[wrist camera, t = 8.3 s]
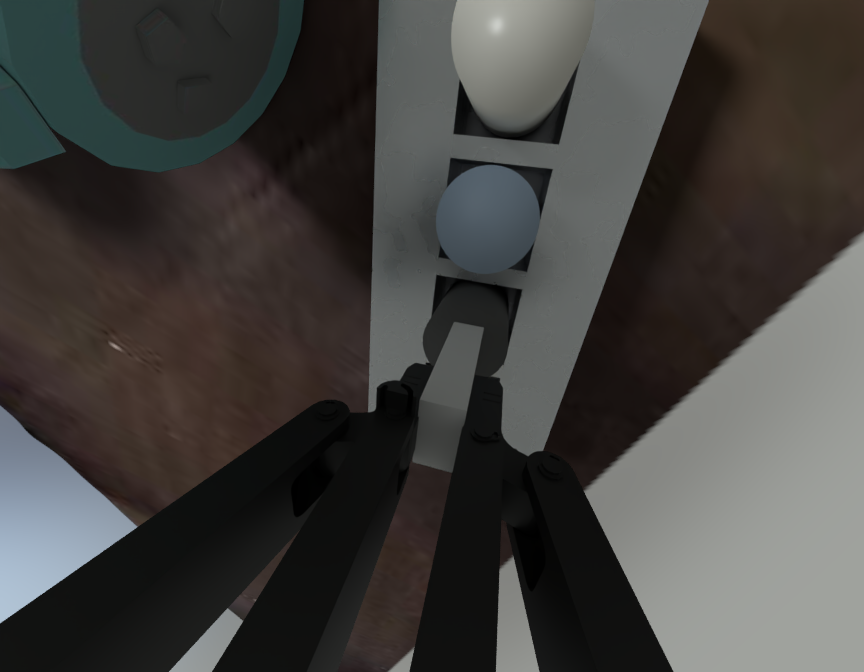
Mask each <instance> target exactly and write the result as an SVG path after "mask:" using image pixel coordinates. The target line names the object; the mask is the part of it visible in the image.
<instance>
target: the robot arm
mask: <svg viewBox="0 0 864 672" xmlns="http://www.w3.org/2000/svg"><path fill="white" fill-rule="evenodd" d="M483 330H484V327H479V326H473V325H468V324H463V323H458V322H454V323H453V325H452V328H451V330H450V332H449V335H448V337H447V339H446V341H445V344H444V346H443V348H442V350H441V353H440V355H439V357H438V359H437V362H436V364H435V366H429V365H425V364H420V363H414V364H412V365H411V366H409V367H407V369H406V371H405V372H404V374H403V376H402V377H401V379H400V381H399V380H392V381H386V382H384V383H381V384H380V385H379V386H378V387H377V393H376V409H375V410H374V411H372V412H366V413H350V410H349V408H348V406H347V405H346V404H345V403H343V402H341V401H337V400H324V401H320V402H317V403H315V404H313V405H312V406H310V407H309V408H307V409H306V410H304V411H303V412H302V413H300V414H299V415H297V416H296V417H294V418H293V419H292V420H290V421H289V422H287V423H286V424H284V425H283V426H282V427H280V428H279V429H277V430H276V431H274V432H273V433H272V434H270V435H269V436H267V437H266V438H264V439H263V440H262V441H260V442H259V443H257V444H256V445H254V446H253V447H252V448H250V449H249V450H247V451H246V452H244V453H243V454H242V455H240V456H239V457H237V458H236V459H234V460H233V461H232V462H230V463H229V464H227V465H226V466H224V467H223V468H222V469H220V470H219V471H217V472H216V473H214V474H213V475H212V476H210V477H209V478H207V479H206V480H204V481H203V482H202V483H200V484H199V485H197V486H196V487H194V488H193V489H192V490H190V491H189V492H187V493H186V494H184V495H183V496H182V497H180V498H179V499H177V500H176V501H174V502H173V503H172V504H170V505H169V506H167V507H166V508H164V509H163V510H162V511H160V512H159V513H157V514H156V515H154V516H153V517H152V518H150V519H149V520H147V521H146V522H144V523H143V524H142V525H140V526H139V527H137V528H136V529H134V530H133V531H132V532H130V533H129V534H127V535H126V536H125V537H123V538H122V539H120V540H119V541H117V542H116V543H114V544H113V545H112V546H110V547H109V548H107V549H106V550H104V551H103V552H102V553H100V554H99V555H98V556H96V557H94V558H93V559H92V560H90V561H89V562H87V563H86V564H84V565H83V566H82V567H80V568H79V569H77V570H76V571H74V572H73V573H72V574H70V575H69V576H67V577H66V578H65V579H63V580H62V581H60V582H59V583H57V584H56V585H55V586H53V587H52V588H50V589H49V590H47V591H46V592H45V593H43V594H42V595H40V596H39V597H37V598H36V599H35V600H33V601H32V602H30V603H29V604H28V605H26V606H25V607H23V608H22V609H20V610H19V611H17V612H16V613H14V614H13V615H12V616H10V617H9V618H7V619H6V620H4V621H3V622H2V623H0V672H169V671H170V670H171V669H172V668H173V667H174V665H175V664H176V663H177V662H178V661H179V660H180V659H181V658H182V657H183V656H184V655H185V653H186V652H187V651H188V650H189V649H190V648H191V647H192V646H193V645H194V644H195V643H196V642H197V641H198V639H199V638H200V637H201V636H202V635H203V634H204V633H205V632H206V631H207V629H209V628H210V626H211V625H212V624H213V623H214V622H215V621H216V620H217V619H218V618H219V617H220V616H221V614H222V613H223V612H224V611H225V610H226V609H227V608H228V607H229V606H230V605H231V604H232V603H233V602H234V600H235V599H236V598H237V597H238V596H239V595H240V594H241V593H242V592H243V591H244V590H245V589H246V587H247V586H248V585H249V584H250V583H251V582H252V581H253V580H254V579H255V578H256V577H257V576H258V574H259V573H260V572H261V571H262V570H263V569H264V568H265V567H266V566H267V565H268V564H269V563H270V561H271V560H272V559H273V558H274V557H275V556H276V555H277V554H278V553H279V552H280V551H281V550H282V548H283V547H284V546H285V545H286V544H287V543H288V542H289V541H290V540H291V539H292V538H293V537H294V535H295V534H296V533H297V532H298V531H299V530H300V531H299V533H298V534H297V536H296V538H295V539H294V541H293V542H292V544H291V546H290V547H289V549H288V550H287V552H286V554H285V555H284V557H283V558H282V560H281V562H280V563H279V565H278V566H277V568H276V570H275V571H274V573H273V574H272V576H271V578H270V579H269V581H268V583H267V584H266V586H265V587H264V589H263V591H262V592H261V594H260V595H259V597H258V599H257V600H256V602H255V603H254V605H253V607H252V608H251V610H250V611H249V613H248V615H247V616H246V618H245V620H244V621H243V623H242V624H241V626H240V628H239V629H238V631H237V632H236V634H235V636H234V637H233V639H232V640H231V642H230V644H229V645H228V647H227V648H226V650H225V652H224V653H223V655H222V657H221V658H220V660H219V662H218V663H217V665H216V666H215V668H214V670H213V671H212V672H337V671H338V668H339V665H340V662H341V659H342V657H343V654H344V651H345V648H346V646H347V643H348V640H349V637H350V635H351V632H352V629H353V626H354V624H355V621H356V618H357V615H358V612H359V610H360V607H361V604H362V601H363V599H364V596H365V593H366V590H367V588H368V585H369V582H370V579H371V577H372V574H373V571H374V568H375V565H376V563H377V560H378V557H379V554H380V552H381V549H382V546H383V543H384V541H385V538H386V535H387V532H388V530H389V527H390V524H391V521H392V518H393V516H394V513H395V510H396V507H397V505H398V502H399V499H400V496H401V494H402V491H403V488H404V485H405V483H406V480H407V477H408V473H409V464H410V462H411V459H412V456H413V461H412V462H414V463H418V464H422V465H425V466H429V467H433V468H437V469H440V470H444V471H448V472H451V473H452V476H451V481H450V486H449V490H448V495H447V500H446V504H445V509H444V514H443V518H442V523H441V527H440V532H439V537H438V541H437V546H436V551H435V555H434V560H433V565H432V569H431V574H430V579H429V583H428V588H427V593H426V597H425V602H424V607H423V611H422V616H421V620H420V625H419V630H418V634H417V639H416V644H415V648H414V653H413V658H412V662H411V667H410V672H496V651H497V648H496V647H497V623H498V594H499V566H500V538H501V519H502V520H504V521H505V522H507V529H508V533H509V538H510V542H511V547H512V551H513V556H514V560H515V564H516V569H517V573H518V578H519V582H520V587H521V591H522V596H523V600H524V605H525V609H526V614H527V618H528V622H529V627H530V631H531V636H532V640H533V644H534V649H535V654H536V658H537V663H538V666H539V671H540V672H673V670H672V668H671V666H670V664H669V662H668V660H667V658H666V656H665V654H664V652H663V650H662V648H661V646H660V644H659V642H658V640H657V638H656V636H655V634H654V632H653V630H652V628H651V626H650V624H649V622H648V620H647V618H646V616H645V614H644V612H643V610H642V608H641V606H640V604H639V602H638V599H637V597H636V596H635V593H634V591H633V589H632V587H631V585H630V583H629V582H628V579H627V577H626V575H625V574H624V571H623V569H622V567H621V565H620V563H619V561H618V559H617V558H616V555H615V553H614V551H613V549H612V547H611V545H610V543H609V541H608V539H607V537H606V535H605V533H604V531H603V529H602V527H601V525H600V523H599V521H598V519H597V517H596V515H595V513H594V511H593V509H592V507H591V505H590V503H589V501H588V499H587V497H586V495H585V493H584V491H583V489H582V487H581V485H580V483H579V481H578V479H577V477H576V475H575V473H574V471H573V469H572V468H571V467H570V465H569V464H568V463H567V462H566V461H565V460H563V459H562V458H561V457H559V456H557V455H555V454H553V453H550V452H546V451H536V452H534V453H532V454H530V455H529V456H527V455H525V454H523V453H521V452H519V451H518V450H516V449H514V448H513V447H512V446H510V445H509V444H508V443H507V441H506V440H505V439H504V437H503V434H502V430H501V427H502V403H503V387H502V385H501V383H500V382H499V380H497V379H493V378H488V377H483V376H479V375H474V374H475V369H476V364H477V359H478V355H479V350H480V345H481V340H482V335H483Z"/></svg>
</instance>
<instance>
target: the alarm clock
mask: <svg viewBox="0 0 864 672" xmlns="http://www.w3.org/2000/svg"><path fill="white" fill-rule="evenodd" d="M303 5H304V0H0V168H5V169H16V168H19V167H22V166H25V165H28V164H31V163H34V162H37V161H40V160H43V159H46V158H49V157H52V156H55V155H58V154H61V153H64V152H66V151H65V149H64V148H63V147H62V145H61V144H60V142H59V141H58V140H57V138H56V137H55V135H54V134H53V133H52V131H51V130H50V129H49V127H48V126H47V125H49V126H50V127H51V128H52V129H54V130H55V131H56V132H58V133H59V134H61V135H62V136H64V137H65V138H67V139H69V140H70V141H72V142H74V143H75V144H77V145H78V146H80V147H82V148H83V149H85V150H87V151H88V152H90V153H92V154H93V155H95V156H96V157H98V158H100V159H101V160H103V161H105V162H106V163H108V164H110V165H111V166H118V167H125V168H131V169H138V170H145V171H152V172H163V171H168V170H172V169H177V168H181V167H185V166H190V165H194V164H199V163H201V162H203V161H204V160H206V159H208V158H209V157H211V156H213V155H215V154H216V153H218V152H220V151H221V150H223V149H225V148H227V147H228V146H230V145H232V144H233V143H235V141H236V140H237V139H238V138H239V137H240V136H241V135H242V134H243V133H244V132H245V131H246V130H247V129H248V128H249V127H250V126H251V125H252V124H253V123H254V122H255V121H256V120H257V119H258V118H259V117H260V116H261V115H262V114H263V112H264V111H265V109H266V107H267V106H268V104H269V102H270V101H271V99H272V97H273V96H274V94H275V92H276V91H277V89H278V87H279V86H280V84H281V82H282V81H283V79H284V77H285V75H286V72H287V69H288V66H289V63H290V60H291V57H292V54H293V52H294V49H295V46H296V43H297V40H298V37H299V34H300V31H301V23H302V14H303Z"/></svg>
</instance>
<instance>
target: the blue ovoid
mask: <svg viewBox="0 0 864 672" xmlns="http://www.w3.org/2000/svg"><path fill="white" fill-rule="evenodd" d="M539 223H540V211H539V205H538V201H537V198H536V195H535V193H534V191H533V189H532V187H531V186H530V185H529V183H528V182H527V181H526V180H525V179H524V178H523V177H522V176H521V175H519V174H518V173H517V172H515V171H513V170H511V169H509V168H506V167H503V166H498V165H484V166H479V167H475V168H472V169H470V170H468V171H466V172H464V173H462V174H461V175H460V176H458V177H457V178H456V179H455V180H454V181H453V182H452V183H451V184H450V185H449V186H448V188H447V189H446V190H445V192H444V194H443V195H442V198H441V200H440V202H439V205H438V209H437V214H436V231H437V236H438V239H439V242H440V244H441V247H442V249H443V250H444V252H445V253H446V255H447V256H448V257H449V258H450V259H451V260H452V261H453V262H454V263H455V264H456V265H458V266H459V267H461V268H463V269H465V270H467V271H470V272H474V273H479V274H491V273H497V272H500V271H503V270H506V269H508V268H510V267H511V266H513V265H515V264H516V263H517V262H519V261H520V260H521V259H522V258H523V257H524V256H525V255H526V254H527V252H528V251H529V250H530V248H531V246H532V245H533V243H534V241H535V238H536V236H537V233H538V229H539Z"/></svg>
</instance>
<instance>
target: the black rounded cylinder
mask: <svg viewBox="0 0 864 672" xmlns="http://www.w3.org/2000/svg"><path fill="white" fill-rule="evenodd" d="M508 320H509V303H508V298H507V295H506V293H505V291H504V290H503V288H502V287H501V286H500V285H494V284H488V283H482V282H476V281H470V280H465V279H460V280H458V281H457V282H455V283H454V284H453V285H452V286H451V287H450V289H449V290H448V292H447V293H446V295H445V296H444V298H443V300H442V301H441V303H440V304H439V306H438V308H437V309H436V311H435V312H434V314H433V315H432V317H431V319H430V320H429V322H428V323H427V325H426V327H425V330H424V333H423V349H424V353H425V355H426V357H427V359H428V361H429V362H430V364H431V365H432V366H435V364H436V362H437V359H438V357H439V355H440V353H441V350H442V348H443V346H444V344H445V341H446V339H447V337H448V335H449V332H450V330H451V328H452V325H453V323H454V322H458V323H463V324H468V325H473V326H479V327H484V330H483V335H482V340H481V345H480V350H479V355H478V359H477V364H476V369H475V374H474V375H479V376H483V377H490V376H492V375H493V374H494V373H496V372H497V371H498V370H499V369H500V368H501V366H502V365H503V363H504V361H505V359H506V356H507V352H508Z"/></svg>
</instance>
